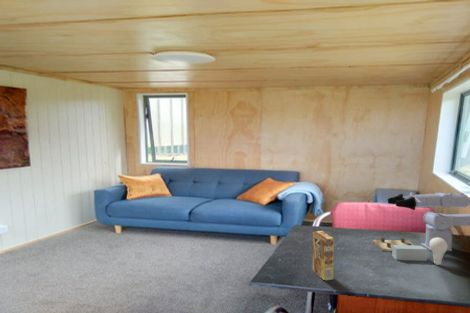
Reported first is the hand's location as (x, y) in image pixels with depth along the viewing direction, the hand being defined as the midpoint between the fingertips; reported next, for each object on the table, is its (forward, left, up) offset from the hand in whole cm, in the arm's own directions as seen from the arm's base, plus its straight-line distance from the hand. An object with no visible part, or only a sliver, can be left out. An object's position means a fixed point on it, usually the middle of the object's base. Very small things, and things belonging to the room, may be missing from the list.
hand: (392, 202), depth 141 cm
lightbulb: (-11, +18, -21) cm, 30 cm away
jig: (-3, -1, -21) cm, 21 cm away
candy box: (+36, +30, -21) cm, 51 cm away
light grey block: (-3, +12, -21) cm, 24 cm away
